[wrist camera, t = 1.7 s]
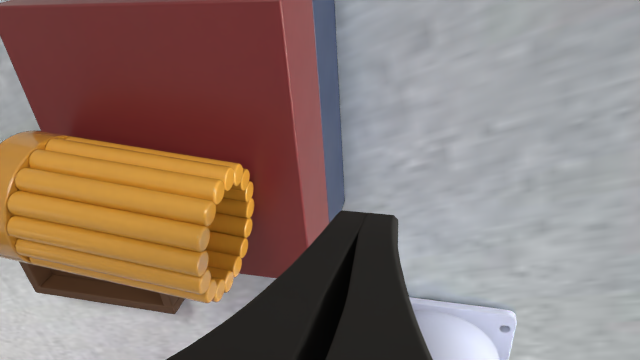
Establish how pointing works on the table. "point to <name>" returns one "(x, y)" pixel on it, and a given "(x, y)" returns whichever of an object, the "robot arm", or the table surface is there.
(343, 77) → the table surface
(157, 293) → the tray
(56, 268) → the hollow dowel bundle
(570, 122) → the table surface
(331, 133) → the books
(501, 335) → the robot arm
